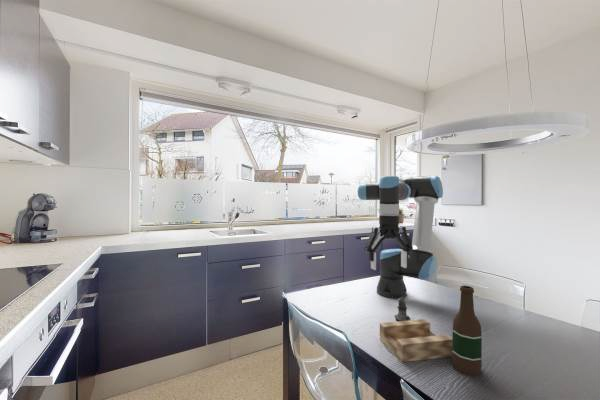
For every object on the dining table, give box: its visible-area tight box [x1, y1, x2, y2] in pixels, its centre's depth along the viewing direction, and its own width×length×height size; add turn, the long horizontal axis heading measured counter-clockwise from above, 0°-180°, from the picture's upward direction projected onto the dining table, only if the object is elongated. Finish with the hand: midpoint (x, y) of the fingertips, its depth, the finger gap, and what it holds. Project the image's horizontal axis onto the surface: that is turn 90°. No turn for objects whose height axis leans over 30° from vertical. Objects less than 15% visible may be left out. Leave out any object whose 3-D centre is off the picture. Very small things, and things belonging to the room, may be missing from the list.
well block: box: [379, 318, 452, 363], centre depth 90 cm, size 18×14×6 cm
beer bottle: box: [451, 285, 483, 377], centre depth 78 cm, size 8×8×24 cm
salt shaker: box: [394, 296, 411, 322], centre depth 104 cm, size 6×6×12 cm
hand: (388, 268), depth 106 cm, fingers open, 13 cm apart
